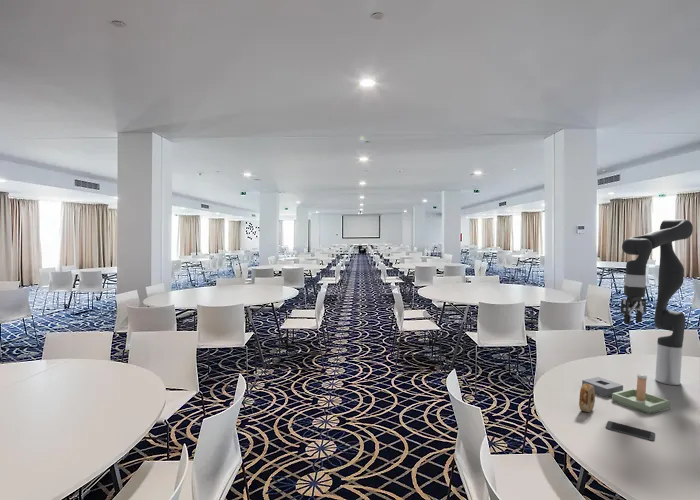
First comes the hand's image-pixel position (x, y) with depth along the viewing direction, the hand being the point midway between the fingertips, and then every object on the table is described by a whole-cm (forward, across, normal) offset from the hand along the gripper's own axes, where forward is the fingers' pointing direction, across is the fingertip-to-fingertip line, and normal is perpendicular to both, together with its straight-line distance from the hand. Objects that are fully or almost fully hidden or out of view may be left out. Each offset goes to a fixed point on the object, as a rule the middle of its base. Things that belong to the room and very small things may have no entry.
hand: (632, 322), depth 179 cm
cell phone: (+31, +38, +22) cm, 54 cm away
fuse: (+29, +10, +10) cm, 33 cm away
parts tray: (+30, +10, +10) cm, 33 cm away
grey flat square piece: (+30, +10, -6) cm, 32 cm away
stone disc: (+30, +36, +5) cm, 47 cm away
